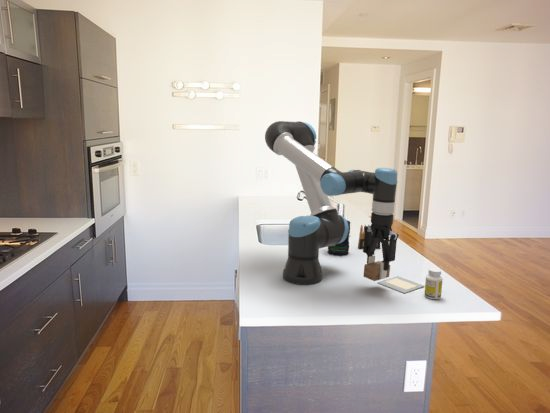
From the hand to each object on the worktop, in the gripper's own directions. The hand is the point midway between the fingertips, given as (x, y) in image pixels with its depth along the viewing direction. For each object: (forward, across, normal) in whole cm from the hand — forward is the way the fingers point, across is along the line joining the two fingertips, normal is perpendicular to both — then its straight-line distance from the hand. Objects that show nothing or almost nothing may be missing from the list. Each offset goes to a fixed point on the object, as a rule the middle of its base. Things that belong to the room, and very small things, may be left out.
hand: (376, 275), depth 149 cm
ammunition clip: (+6, +36, -38) cm, 53 cm away
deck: (0, 0, 0) cm, 0 cm away
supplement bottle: (+5, -16, -11) cm, 20 cm away
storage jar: (+6, +39, -20) cm, 45 cm away
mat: (+5, -3, -11) cm, 12 cm away
